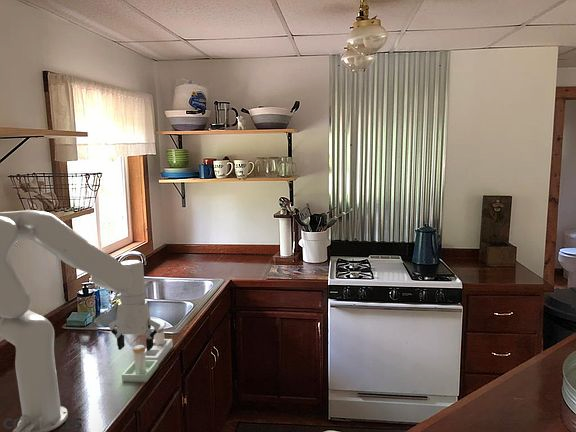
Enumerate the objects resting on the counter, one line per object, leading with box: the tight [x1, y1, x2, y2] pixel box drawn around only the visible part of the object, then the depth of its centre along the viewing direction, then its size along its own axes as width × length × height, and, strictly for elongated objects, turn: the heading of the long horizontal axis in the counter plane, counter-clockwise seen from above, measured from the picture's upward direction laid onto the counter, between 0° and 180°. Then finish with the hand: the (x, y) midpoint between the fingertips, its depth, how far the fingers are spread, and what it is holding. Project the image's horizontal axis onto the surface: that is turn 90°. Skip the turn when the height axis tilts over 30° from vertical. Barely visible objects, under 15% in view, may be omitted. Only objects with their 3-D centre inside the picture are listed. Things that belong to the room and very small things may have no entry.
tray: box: [121, 360, 159, 383], centre depth 155 cm, size 10×8×2 cm
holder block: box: [145, 338, 174, 366], centre depth 168 cm, size 15×7×3 cm, turn 174°
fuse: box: [152, 325, 166, 346], centre depth 172 cm, size 4×4×9 cm
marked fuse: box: [132, 344, 147, 374], centre depth 155 cm, size 4×4×9 cm
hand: (135, 348), depth 153 cm, fingers open, 9 cm apart
